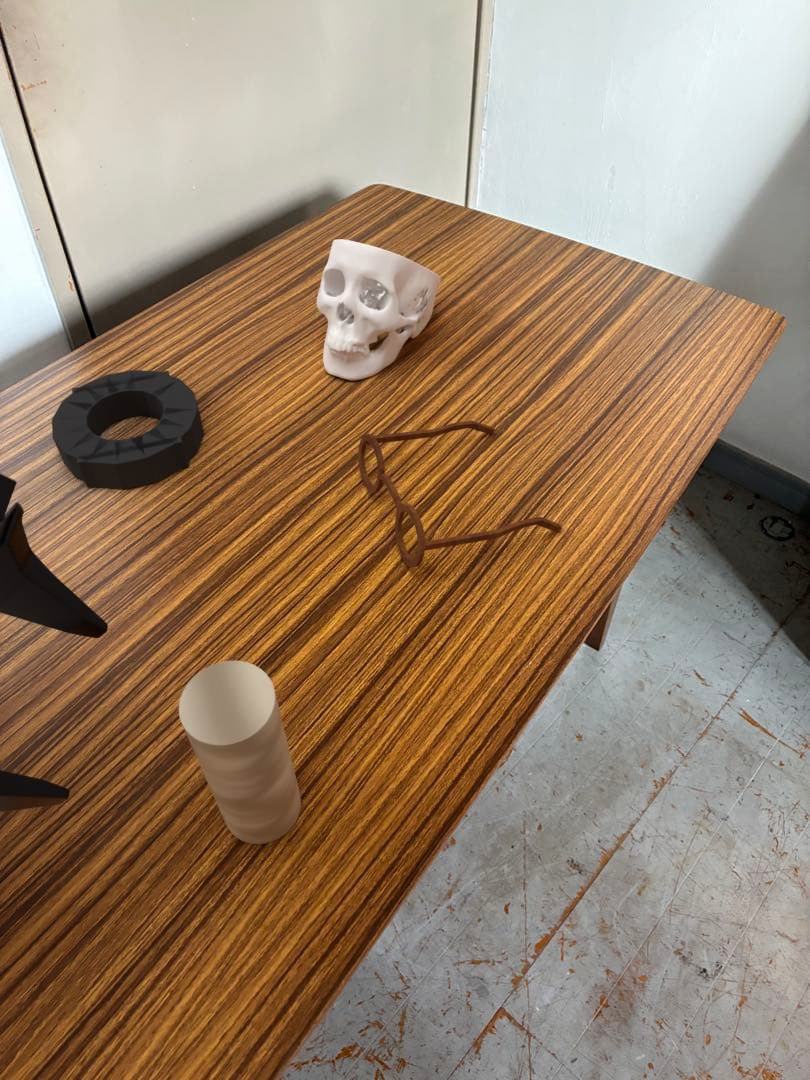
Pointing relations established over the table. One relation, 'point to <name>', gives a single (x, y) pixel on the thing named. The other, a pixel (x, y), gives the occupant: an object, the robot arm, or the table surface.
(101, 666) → the table surface
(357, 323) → the skull bowl
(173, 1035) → the table surface
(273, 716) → the beige cylinder
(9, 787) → the robot arm
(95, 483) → the black thick flat ring
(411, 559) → the glasses
